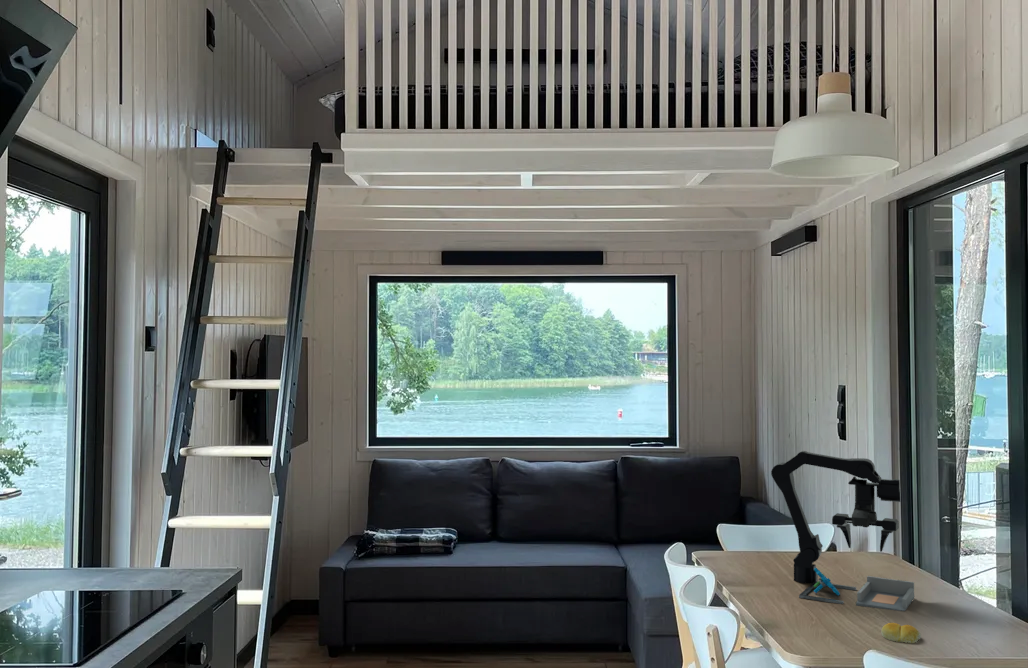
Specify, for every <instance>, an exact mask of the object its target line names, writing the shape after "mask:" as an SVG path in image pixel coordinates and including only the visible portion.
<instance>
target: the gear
mask: <svg viewBox="0 0 1028 668" xmlns="http://www.w3.org/2000/svg"><path fill="white" fill-rule="evenodd" d="M814 571H815V572H816V573H817V574H818V577H819V578H818V582H817V583H816V584H815V585H814V589H813V592H814V593H815V594H817V593H818V592H819V591H821V590H822V588H826V587H828V588H829V589H831V591H833V593H834V594H835V595H837V596H840V595H841V593H840V592H839V590H838V589H837V588H835V587H834V586H833V584H834V583H832V582H831V579H830V578H829V577H826V575H825V574H824V573H822V572H821V571H820V570H819V569H818V568H817V567H816V568H815V569H814ZM820 583H821V585H819V584H820ZM827 585H828V586H827Z"/></svg>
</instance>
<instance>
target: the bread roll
mask: <svg viewBox="0 0 1028 668" xmlns="http://www.w3.org/2000/svg"><path fill="white" fill-rule="evenodd" d="M881 636H882V637H883V638H884V639H886V640H888V641H891V642H895V641H896V642H897V643H903V642H905V643H904V644H916V643H918V642H919V641H920V640H921V637H922V634H921V632H919V630H918V629H917V628H916V627H915V626H913V625H910V624H904V625H901V624H899V623H896V622H889V623H886V624H884V625H883V626H882V628H881ZM919 639H920V640H919ZM918 640H919V641H918ZM917 641H918V642H917ZM907 642H908V643H907ZM915 642H916V643H915Z"/></svg>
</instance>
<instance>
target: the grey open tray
mask: <svg viewBox="0 0 1028 668" xmlns="http://www.w3.org/2000/svg"><path fill="white" fill-rule="evenodd" d="M856 597H857V600H856V602H855V606H858V607H865V608H873V609H882V610H890V611H896V612H897V611H898V612H906V610H907V609H908V608H909V606H910V605H911V602H912V600H913V599H914V597H915V582H914V581H908V580H901V579H900V580H899V579H895V578H893V579H892V578H885V577H878V576H877V577H876V576H870V575H867V576H866V582H865V583H864V584H863V586H862V587H860V588H859V590H858V591H857V592H856ZM914 600H915V599H914ZM914 600H913V601H914ZM912 603H913V602H912Z"/></svg>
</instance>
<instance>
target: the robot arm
mask: <svg viewBox="0 0 1028 668" xmlns="http://www.w3.org/2000/svg"><path fill="white" fill-rule="evenodd" d="M804 465H809V466H814V467H818V468H819V467H820V468H825V469H830V470H836V471H841V472H844V473H847V474H849V475H852V479H851V480H849V481H848V485H850V486H851V485H852V486H853V485H854V509H853V512H852V514H851V517H850V516H849V514H848V513H835V514H834V515H833V516H832V517H831V518H832V519H831V524H832V525H834V526H836V528H838V529H840V530H841V531H842V534H843V536H844V538H845V541H846V544H847V546H848V548H849V549H851V547H852V537H851V535H852V534H851V525H852V526H853V527H861V528H862V527H863V528H869V527H870V526H872V527H873V526H874V527H880V528H881V527H882V529H881V531H880V535H881V536H880V545H879V551H880V552H881V553H882V552H883V550H884V547H885V544H886V541H887V539H888V537H889V535H890V534H892V533H893V532H897V531H898V530H899V528H900V524H899V523H900V522H899V520H898V519H897V518H888V517H886V518H885V517H884V518H883V519H882V520H880V519H878V515H877V511H876V501H875V500H876V498H875V497H877V498H878V499H880V501H881V502H882V501H883V502H893V503H901V499H902V498H901V497H902V495H901V494H902V491H901V490H902V489H901V481H900V479H888V478H885V479H884V478H882V477H881V475H879V473H878V472H877V470H876V467H875V464H874V462H873V461H872V460H871V459H869V458H863V457H862V458H858V457H857V458H843V457H836V456H831V455H827V454H826V455H825V454H820V453H814V452H809V451H806V450H802V451H799V452H798V453H797V455H795V456H793V457H792V458H790V459H789V460H788V461H786V462H780V463H778V464H776V465H774V466H773V467H772V469H771V472H770V473H771V477H772V479H773V480H774V482H775V484H776V486H777V487H778V489H779V490H780V491H781V492H782V494H783V498H784V500H785V503H786V507H787V509H788V512H789V514H790V517H791V519H792V523H793V524H794V527H795V530H796V533H797V537H798V539H797V540H798V547H799V548H798V549H799V552H798V553H797V555H795V557H794V559H793V582H797V583H800V584H807V585H811V584H812V583H813V582H815V581H817V582H818V581H819V580H818V579H819V578H818V577H819V575H818V574H817V573H816V572H815V571H814V569H815V568H817V565H816V564H814V563H815V562H817V560H819V558H820V557H821V556H822V555H821V554H822V551H823V549H822V548H823V547H824V546H823V543H822V542H821V539H820V536H819V534H814V533H813V532H812V531H811V529H810V527H809V523H808V521H807V518H806V515H805V512H804V510H803V507H802V504H801V501H800V499H799V496H798V493H797V490H796V484H795V476H794V472H795V471H797V469H799V468H801V467H802V466H804ZM858 478H859V479H858ZM868 481H869V482H868ZM875 487H876V492H875ZM875 493H876V494H875ZM875 495H876V496H875Z"/></svg>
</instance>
